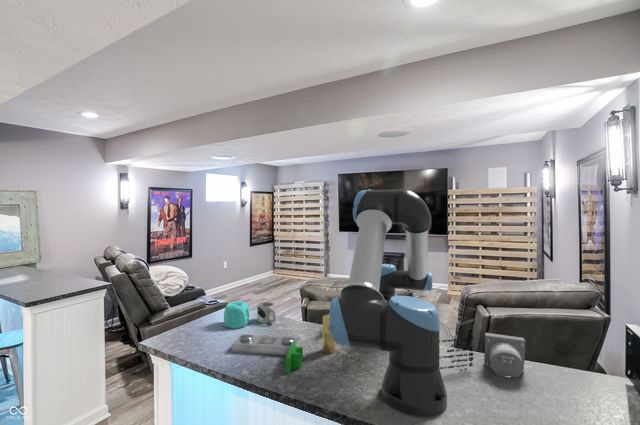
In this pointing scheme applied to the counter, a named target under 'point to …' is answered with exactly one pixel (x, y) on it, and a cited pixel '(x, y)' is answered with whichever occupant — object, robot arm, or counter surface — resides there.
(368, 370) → the counter surface
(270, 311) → the mug
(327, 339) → the link pin
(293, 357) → the pipe clamp
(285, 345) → the plate with dome knobs
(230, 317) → the decorative dice
